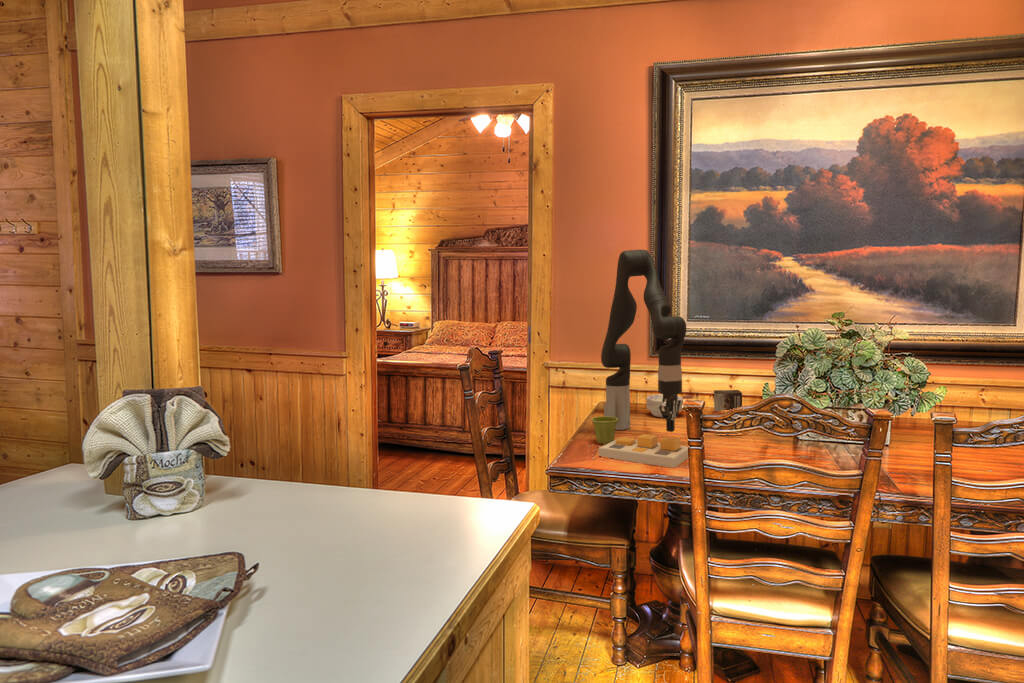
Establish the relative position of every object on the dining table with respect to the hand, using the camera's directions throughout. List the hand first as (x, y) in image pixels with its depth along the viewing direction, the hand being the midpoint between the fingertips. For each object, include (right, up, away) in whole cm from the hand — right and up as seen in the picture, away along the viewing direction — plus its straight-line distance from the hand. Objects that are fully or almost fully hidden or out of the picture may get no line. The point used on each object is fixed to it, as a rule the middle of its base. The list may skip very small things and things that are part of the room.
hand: (670, 431), depth 213 cm
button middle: (-6, -5, +5) cm, 10 cm away
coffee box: (+29, -6, +31) cm, 43 cm away
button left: (-13, -7, +10) cm, 18 cm away
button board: (-7, -9, +4) cm, 12 cm away
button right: (0, -6, +1) cm, 6 cm away
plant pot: (-18, -8, +24) cm, 31 cm away
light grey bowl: (+14, -3, +66) cm, 68 cm away
